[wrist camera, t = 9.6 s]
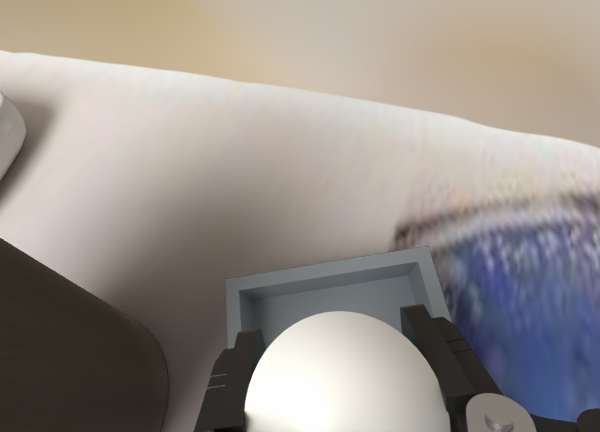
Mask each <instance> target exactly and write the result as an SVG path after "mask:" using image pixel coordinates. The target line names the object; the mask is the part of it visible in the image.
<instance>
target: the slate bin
mask: <svg viewBox="0 0 600 432" xmlns="http://www.w3.org/2000/svg"><path fill="white" fill-rule="evenodd" d="M225 290H226V317H227V345H228V349H231V348H234V345H235V341H236V337H237V334H238V332H239V331H246V330H252V329H259V328H260V329H261V331H262V334H263V338H264V342H265V345H266V349H267V348H268V347H269V346H270V345H271V344H272V342H273V341H274V340H275V339H276V338H277V337H278V336H279V335H280V334H281V333H282V332H284V331H285V330H286V329H288V328H289V327H291V326H292V325H293V324H295V323H297V322H299V321H301V320H303V319H305V318H308V317H310V316H313V315H316V314H320V313H325V312H334V311H346V312H355V313H360V314H364V315H367V316H370V317H374V318H376V319H378V320H380V321H382V322H384V323H386V324H388V325H390V326H391V327H393V328H394V329H396V330H397V331H399V332H400V333H401V334H402V329H401V318H400V307H403V306H409V305H416V304H424V306H425V307H426V309H427V311H428V312H429V314H430V316H431V317H432V318H437V317H444V318H446V319H447V320H448V321H450V322H451V323H452V321H451V318H450V314H449V311H448V308H447V305H446V302H445V298H444V295H443V292H442V289H441V285H440V282H439V279H438V276H437V273H436V269H435V266H434V263H433V260H432V256H431V253H430V250H429V247H428V246H424V247H418V248H412V249H406V250H400V251H394V252H387V253H381V254H375V255H369V256H363V257H357V258H351V259H344V260H338V261H332V262H326V263H320V264H314V265H308V266H301V267H295V268H289V269H283V270H277V271H271V272H265V273H258V274H252V275H246V276H240V277H234V278H228V279H225Z"/></svg>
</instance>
